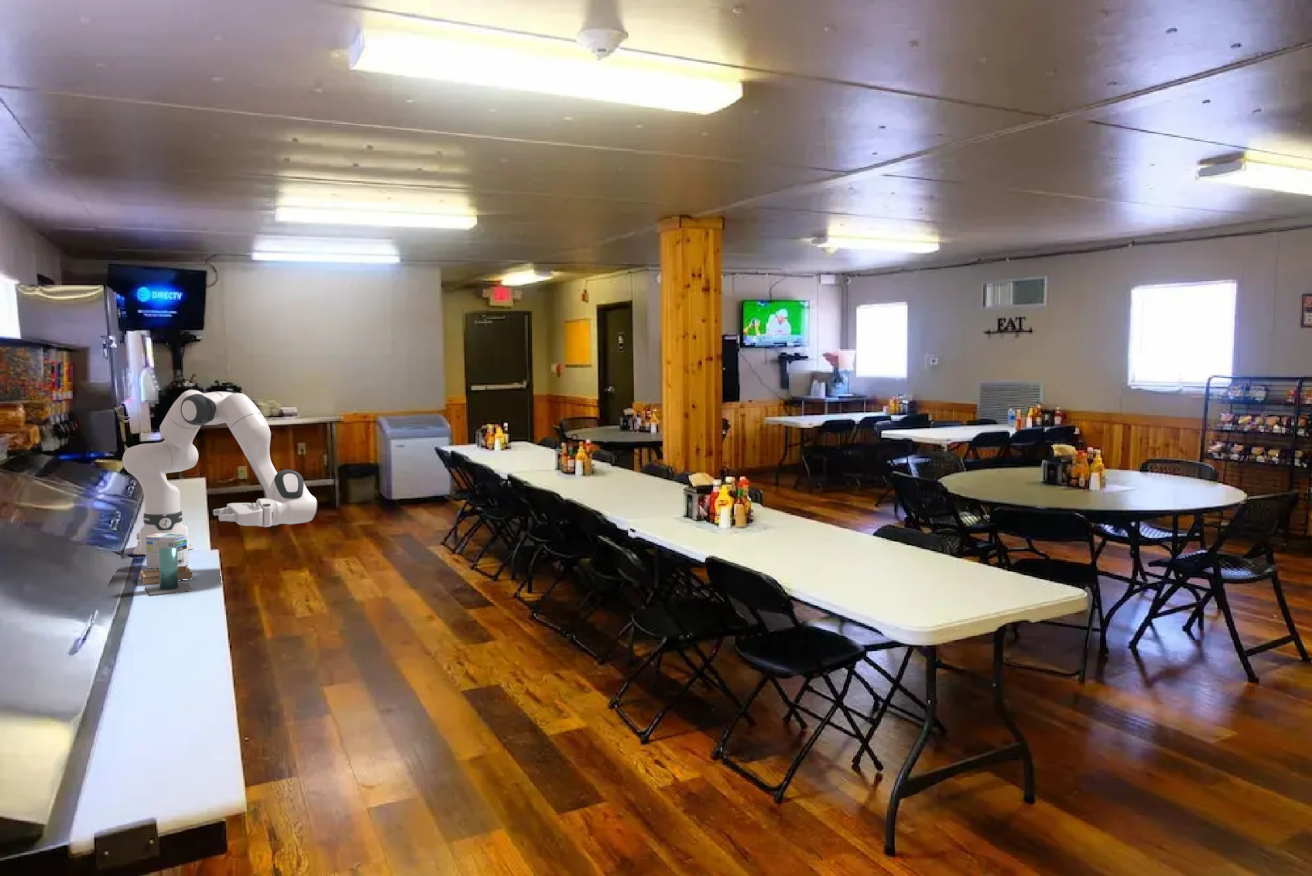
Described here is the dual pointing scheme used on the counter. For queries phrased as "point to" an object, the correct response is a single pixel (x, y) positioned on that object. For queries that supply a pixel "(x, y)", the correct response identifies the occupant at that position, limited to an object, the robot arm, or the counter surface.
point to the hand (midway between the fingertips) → (216, 515)
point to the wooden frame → (153, 575)
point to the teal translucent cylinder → (168, 568)
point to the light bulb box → (166, 541)
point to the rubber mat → (157, 591)
